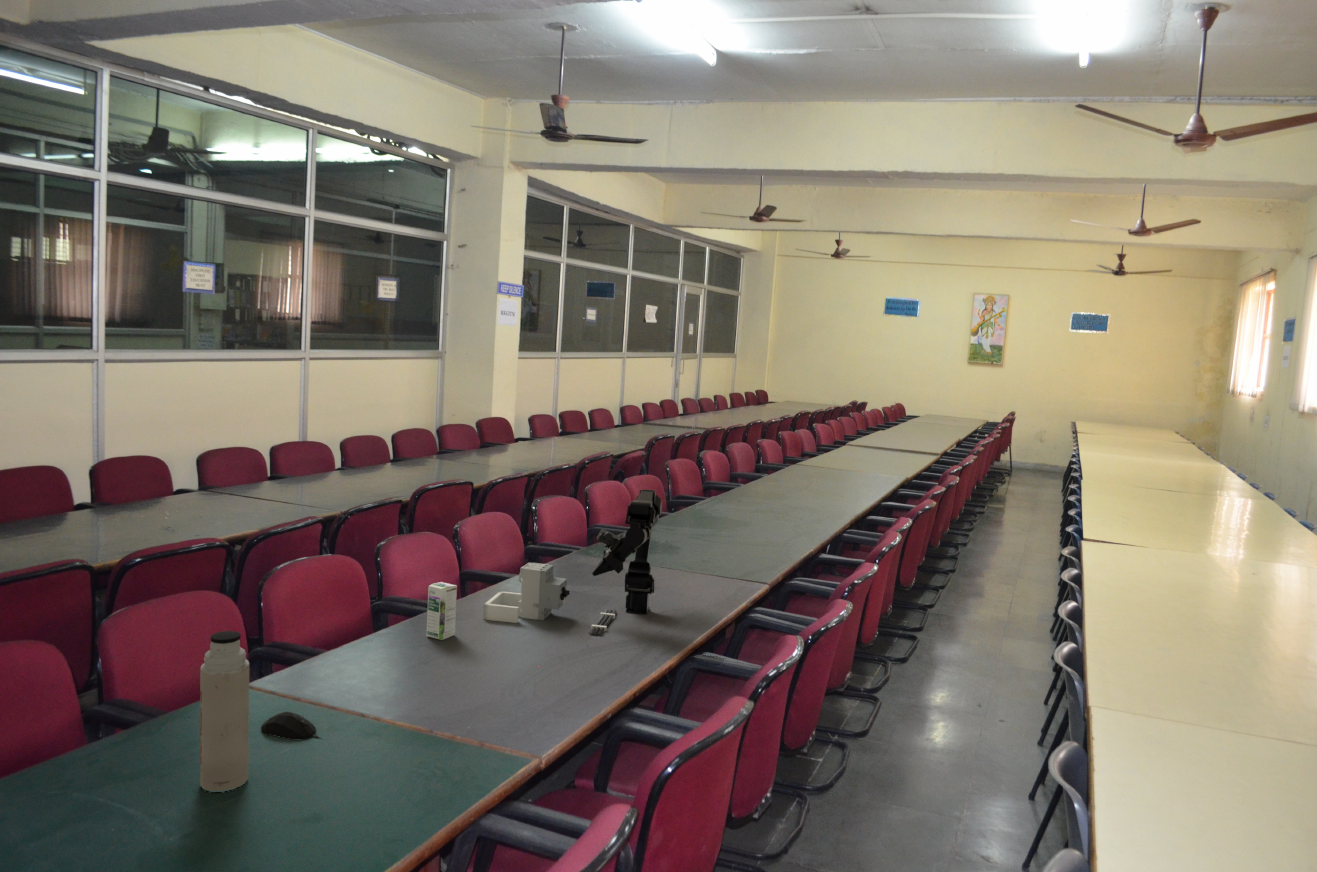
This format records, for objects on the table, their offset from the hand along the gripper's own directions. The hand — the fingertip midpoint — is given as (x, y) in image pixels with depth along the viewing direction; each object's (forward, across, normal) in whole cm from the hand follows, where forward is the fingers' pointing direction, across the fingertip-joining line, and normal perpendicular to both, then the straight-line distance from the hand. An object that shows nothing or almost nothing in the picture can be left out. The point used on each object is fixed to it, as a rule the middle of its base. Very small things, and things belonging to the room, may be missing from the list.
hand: (593, 574), depth 269 cm
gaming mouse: (+52, +83, -32) cm, 103 cm away
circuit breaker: (+20, 0, 0) cm, 20 cm away
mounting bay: (+27, -1, -8) cm, 28 cm away
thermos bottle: (+55, +104, -36) cm, 123 cm away
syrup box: (+39, +21, -19) cm, 48 cm away
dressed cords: (+7, +5, +12) cm, 15 cm away
